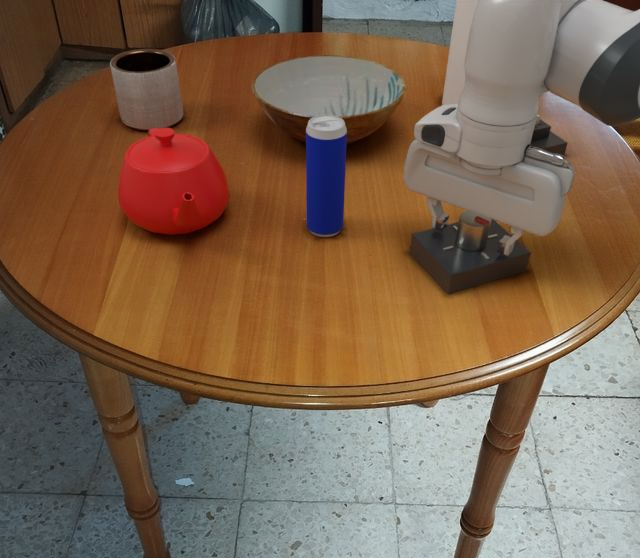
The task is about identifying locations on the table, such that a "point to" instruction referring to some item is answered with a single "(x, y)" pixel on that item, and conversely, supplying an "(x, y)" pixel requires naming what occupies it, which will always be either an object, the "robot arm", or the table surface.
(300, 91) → the bowl
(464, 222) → the volume dial
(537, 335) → the table surface
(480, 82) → the robot arm
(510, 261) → the volume panel
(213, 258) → the table surface
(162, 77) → the planter
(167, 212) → the teapot
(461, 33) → the canister
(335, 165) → the beverage can
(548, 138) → the push button box
